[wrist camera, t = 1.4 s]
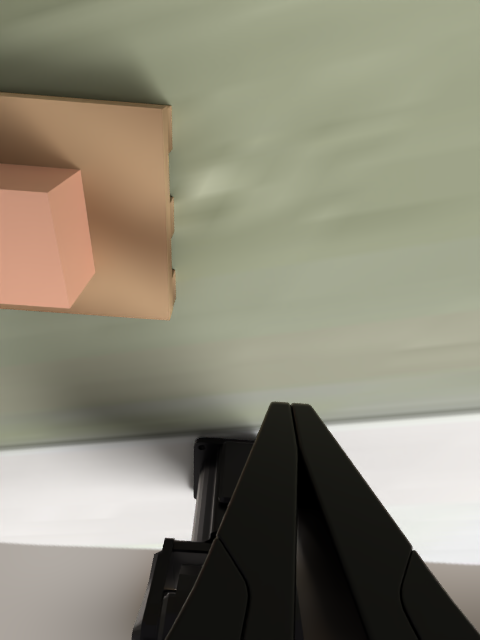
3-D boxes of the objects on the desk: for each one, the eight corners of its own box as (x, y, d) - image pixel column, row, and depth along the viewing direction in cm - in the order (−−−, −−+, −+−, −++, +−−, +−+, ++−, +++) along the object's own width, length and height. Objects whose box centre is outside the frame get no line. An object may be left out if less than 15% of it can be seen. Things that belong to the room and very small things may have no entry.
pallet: (176, 296, 21) (169, 320, 19) (2, 284, 21) (-22, 307, 19) (172, 102, 16) (162, 109, 14) (-57, 83, 16) (-97, 88, 14)
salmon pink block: (95, 272, 18) (70, 308, 15) (-5, 265, 18) (-47, 300, 15) (80, 169, 15) (47, 192, 13) (-36, 160, 15) (-92, 182, 13)
